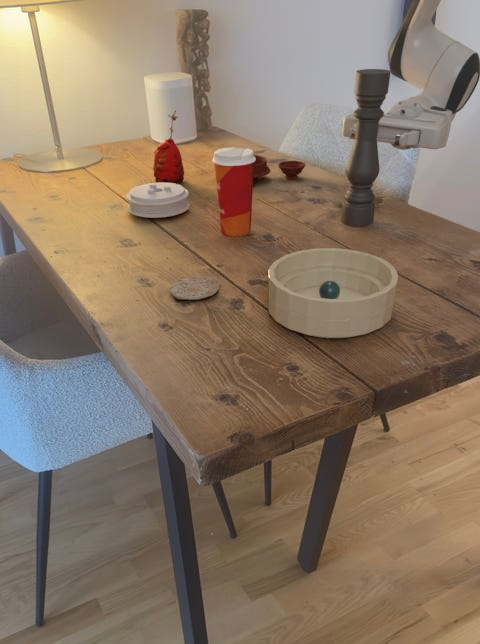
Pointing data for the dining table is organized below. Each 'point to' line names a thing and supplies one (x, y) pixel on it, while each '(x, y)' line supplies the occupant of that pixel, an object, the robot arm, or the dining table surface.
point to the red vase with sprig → (168, 161)
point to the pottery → (287, 167)
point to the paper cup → (234, 189)
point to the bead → (329, 290)
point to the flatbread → (194, 288)
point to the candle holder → (365, 147)
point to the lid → (158, 200)
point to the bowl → (331, 314)
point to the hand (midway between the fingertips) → (374, 137)
